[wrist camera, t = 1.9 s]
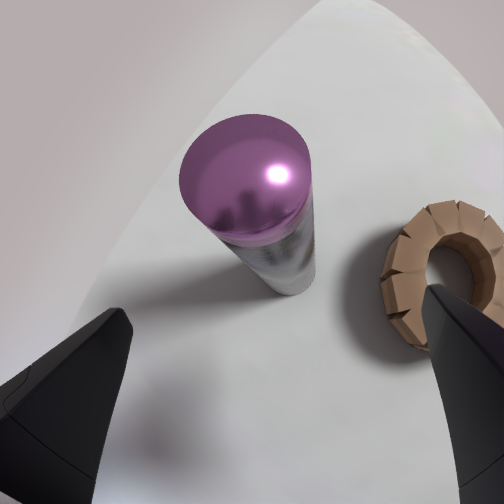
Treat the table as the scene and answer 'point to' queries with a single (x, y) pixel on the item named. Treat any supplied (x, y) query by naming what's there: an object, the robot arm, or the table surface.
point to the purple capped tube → (256, 196)
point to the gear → (416, 257)
